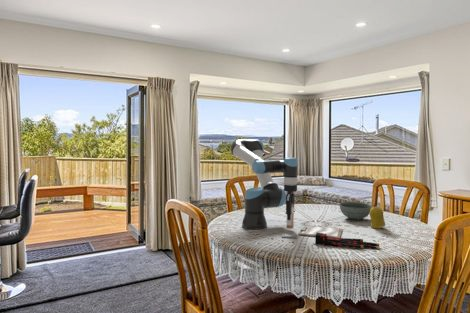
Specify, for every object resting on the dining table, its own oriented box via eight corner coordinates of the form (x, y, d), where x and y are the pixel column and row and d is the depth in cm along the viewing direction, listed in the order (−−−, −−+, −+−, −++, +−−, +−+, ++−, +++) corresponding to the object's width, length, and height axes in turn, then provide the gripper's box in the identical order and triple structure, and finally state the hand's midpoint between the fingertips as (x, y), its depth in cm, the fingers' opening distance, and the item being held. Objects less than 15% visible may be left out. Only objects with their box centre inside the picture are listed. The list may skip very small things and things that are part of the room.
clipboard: (298, 235, 189) (298, 232, 189) (304, 226, 207) (304, 223, 207) (339, 239, 181) (339, 235, 181) (342, 230, 199) (342, 227, 199)
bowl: (355, 214, 241) (355, 200, 240) (379, 220, 222) (379, 205, 222) (332, 217, 232) (332, 203, 232) (355, 224, 213) (355, 208, 213)
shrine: (382, 231, 196) (382, 205, 195) (367, 229, 200) (367, 204, 200) (386, 227, 205) (386, 202, 204) (372, 225, 210) (372, 201, 209)
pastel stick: (285, 228, 198) (286, 204, 197) (287, 226, 201) (287, 203, 201) (292, 229, 196) (293, 204, 195) (294, 227, 200) (294, 203, 199)
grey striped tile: (281, 237, 184) (281, 236, 184) (282, 234, 190) (282, 233, 190) (296, 238, 183) (296, 237, 183) (297, 235, 189) (297, 234, 189)
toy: (378, 249, 169) (316, 241, 178) (378, 240, 169) (316, 231, 178) (379, 255, 161) (314, 245, 170) (380, 244, 161) (315, 236, 170)
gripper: (293, 186, 188) (293, 228, 189) (299, 182, 204) (299, 221, 205) (280, 185, 191) (280, 227, 192) (287, 182, 207) (286, 220, 208)
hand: (290, 224), depth 199 cm, fingers closed on pastel stick, 4 cm apart
